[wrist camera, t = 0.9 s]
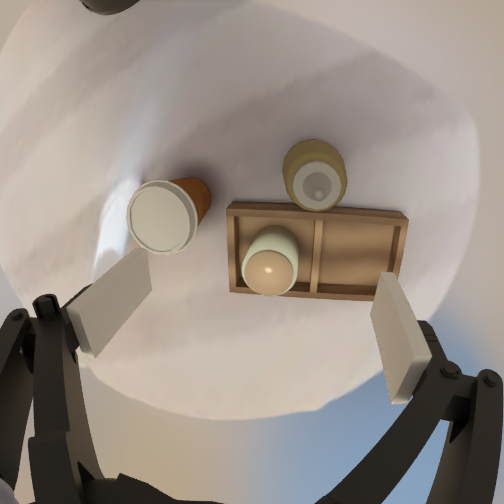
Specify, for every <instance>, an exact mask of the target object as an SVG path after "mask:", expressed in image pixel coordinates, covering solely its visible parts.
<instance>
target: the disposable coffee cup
mask: <svg viewBox="0 0 504 504" xmlns="http://www.w3.org/2000/svg"><path fill="white" fill-rule="evenodd" d="M210 203H211V194H210V191H209V189H208V187H207V186H206V185H205V184H204V183H203V182H202V181H201V180H199V179H196V178H183V179H177V180H171V181H165V180H153V181H150V182H147V183H145V184H143V185H142V186H140V187H139V188H138V189H137V190H136V191H135V192H134V194H133V196H132V198H131V200H130V202H129V205H128V208H127V225H128V228H129V231H130V233H131V235H132V236H133V238H134V240H135V241H136V242H137V243H138V244H139V245H140V246H141V247H142V248H144V249H147V251H149V252H151V253H153V254H157V255H168V254H175V253H178V252H181V251H183V250H184V249H186V248H187V247H188V246H189V245H190V244H191V242H192V241H193V239H194V237H195V235H196V231H197V227H198V225H199V223H200V222H201V220H202V218H203V217H204V215H205V213H206V212H207V210H208V208H209V207H210Z"/></svg>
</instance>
